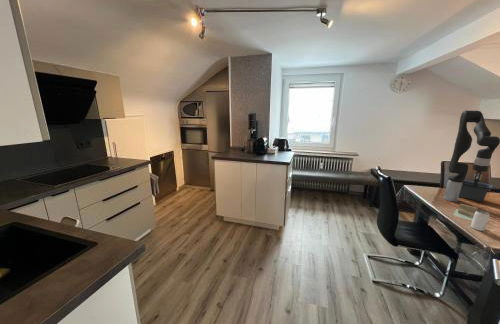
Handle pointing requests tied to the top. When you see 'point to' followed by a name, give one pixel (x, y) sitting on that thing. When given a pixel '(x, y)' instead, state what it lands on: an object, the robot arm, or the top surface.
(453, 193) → the robot arm
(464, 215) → the mat
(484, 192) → the storage bin
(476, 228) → the can
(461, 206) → the tile
